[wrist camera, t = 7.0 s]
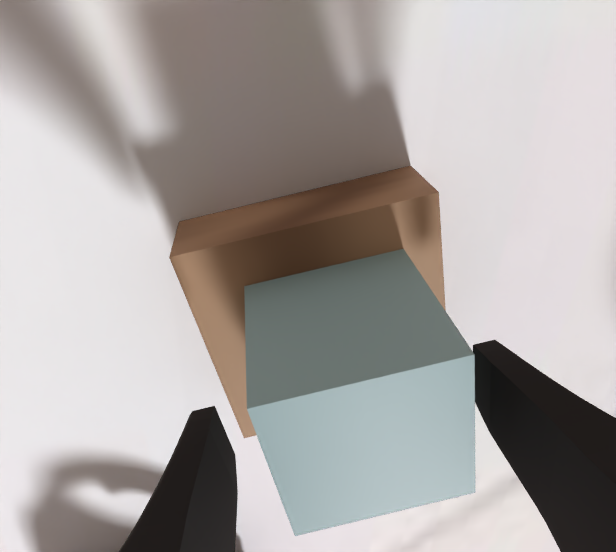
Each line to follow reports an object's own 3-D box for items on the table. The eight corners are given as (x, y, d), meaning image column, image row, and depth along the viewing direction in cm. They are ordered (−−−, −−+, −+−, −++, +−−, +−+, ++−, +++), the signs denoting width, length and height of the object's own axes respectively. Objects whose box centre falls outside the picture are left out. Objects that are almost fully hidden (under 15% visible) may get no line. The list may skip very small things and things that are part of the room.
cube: (403, 248, 14) (474, 354, 10) (415, 367, 17) (475, 492, 13) (244, 286, 14) (246, 408, 10) (280, 400, 17) (294, 535, 12)
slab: (406, 161, 16) (438, 192, 13) (423, 338, 20) (449, 388, 18) (180, 216, 16) (169, 257, 13) (243, 382, 20) (244, 438, 18)
